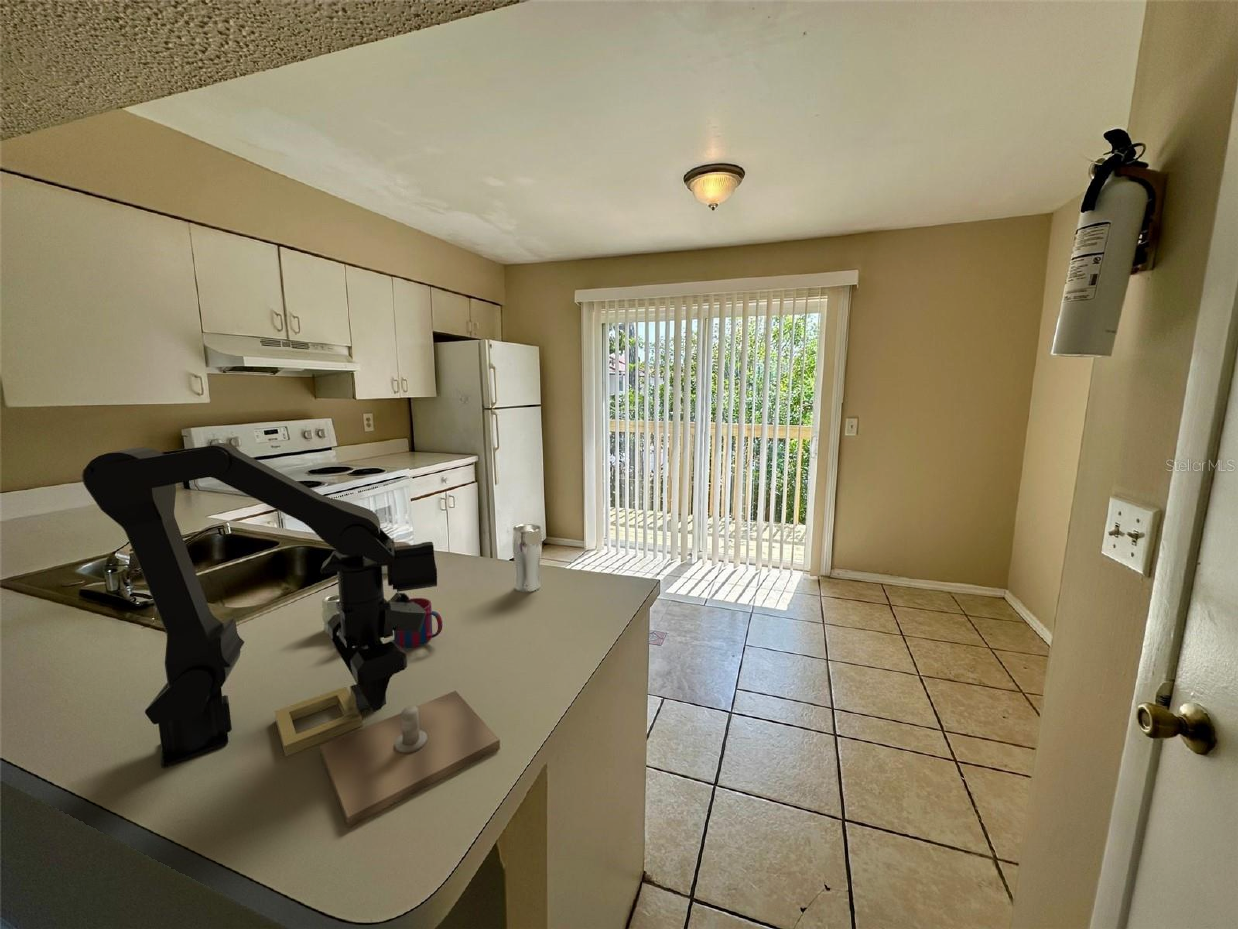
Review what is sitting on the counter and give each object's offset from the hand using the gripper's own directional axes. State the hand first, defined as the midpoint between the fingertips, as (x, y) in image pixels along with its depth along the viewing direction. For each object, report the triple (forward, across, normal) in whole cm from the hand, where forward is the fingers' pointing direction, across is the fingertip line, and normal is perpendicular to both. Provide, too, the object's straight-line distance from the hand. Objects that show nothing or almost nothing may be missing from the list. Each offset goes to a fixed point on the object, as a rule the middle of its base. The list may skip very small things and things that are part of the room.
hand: (368, 694), depth 72 cm
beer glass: (+2, +23, -42) cm, 47 cm away
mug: (+2, +14, -12) cm, 19 cm away
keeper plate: (+2, -14, -2) cm, 14 cm away
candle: (+2, +56, -20) cm, 60 cm away
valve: (+2, +25, -2) cm, 25 cm away
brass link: (+2, 0, +5) cm, 5 cm away
